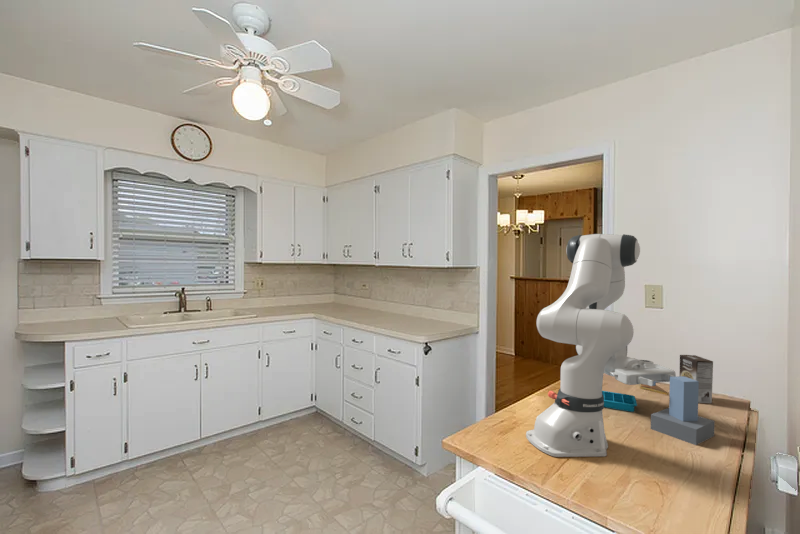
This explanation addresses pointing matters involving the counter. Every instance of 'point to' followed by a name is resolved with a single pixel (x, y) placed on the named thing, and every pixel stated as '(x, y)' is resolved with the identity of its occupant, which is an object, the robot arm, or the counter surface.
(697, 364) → the coffee box
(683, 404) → the slate-blue block
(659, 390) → the shard
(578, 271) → the robot arm
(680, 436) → the charcoal block
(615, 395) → the ice cube tray
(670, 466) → the counter surface
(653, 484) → the counter surface
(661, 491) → the counter surface
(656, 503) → the counter surface
